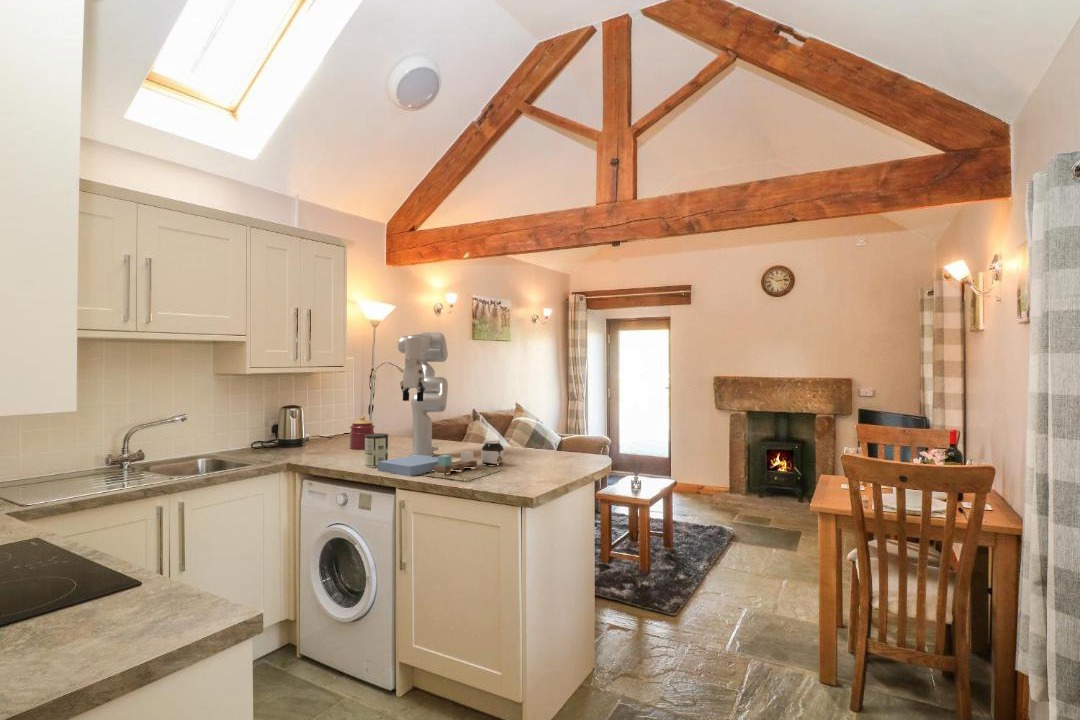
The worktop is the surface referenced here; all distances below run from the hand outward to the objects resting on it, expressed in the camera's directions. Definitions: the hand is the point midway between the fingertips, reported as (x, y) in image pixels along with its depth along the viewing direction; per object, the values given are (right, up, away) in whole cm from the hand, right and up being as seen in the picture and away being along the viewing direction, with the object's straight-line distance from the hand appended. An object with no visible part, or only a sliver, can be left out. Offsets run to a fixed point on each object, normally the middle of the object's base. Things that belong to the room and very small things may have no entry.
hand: (412, 400), depth 256 cm
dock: (+3, -29, -9) cm, 31 cm away
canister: (-40, -30, +55) cm, 75 cm away
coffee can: (-17, -30, 0) cm, 34 cm away
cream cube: (+25, -26, -6) cm, 37 cm away
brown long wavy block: (+21, -30, -12) cm, 38 cm away
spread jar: (+35, -30, +7) cm, 47 cm away
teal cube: (+18, -26, -18) cm, 36 cm away
